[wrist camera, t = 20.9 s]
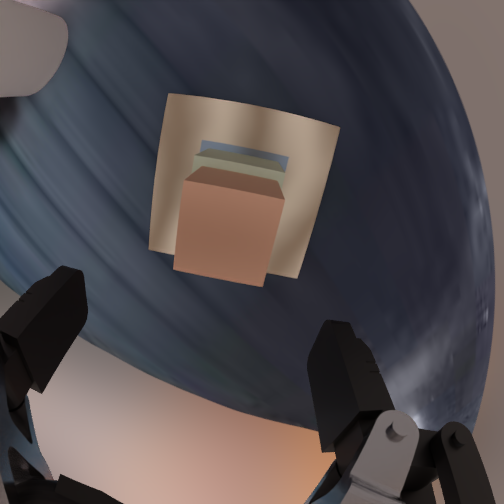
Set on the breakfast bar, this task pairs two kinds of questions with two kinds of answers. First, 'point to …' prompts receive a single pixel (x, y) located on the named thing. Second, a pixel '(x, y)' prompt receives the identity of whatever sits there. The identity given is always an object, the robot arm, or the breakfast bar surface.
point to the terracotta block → (227, 225)
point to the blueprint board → (248, 143)
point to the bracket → (29, 48)
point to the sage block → (239, 164)
